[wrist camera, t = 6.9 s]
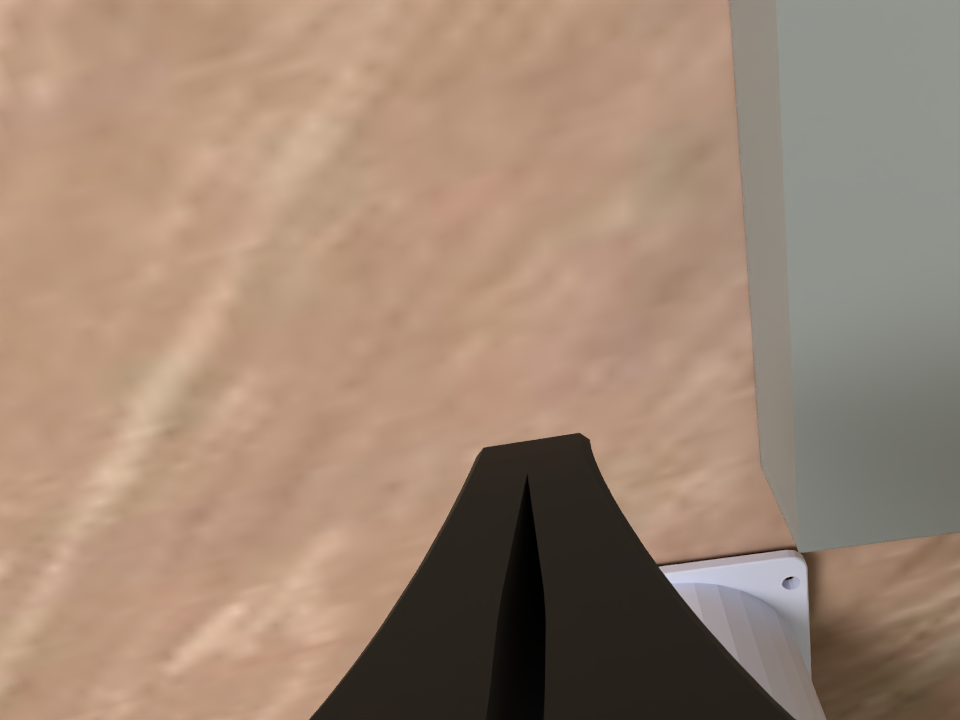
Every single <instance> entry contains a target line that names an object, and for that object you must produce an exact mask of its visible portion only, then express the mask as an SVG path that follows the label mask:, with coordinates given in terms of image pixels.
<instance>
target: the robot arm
mask: <svg viewBox="0 0 960 720" xmlns="http://www.w3.org/2000/svg"><path fill="white" fill-rule="evenodd" d="M788 577H793V578H792V579H789V580H784V579H786V578H788ZM309 720H826V717H825V714H824V712H823V709H822V707H821V704H820V701H819V699H818V696H817V694H816V691H815V688H814V686H813V683H812V677H811V650H810V623H809V596H808V568H807V564H806V562H805V560H804V557H803V555H802V554H800V553H799V552H797V551H794V550H782V551H774V552H767V553H759V554H751V555H744V556H736V557H729V558H721V559H713V560H706V561H698V562H691V563H683V564H675V565H668V566H660V567H658V565H657V564H656V563H655V561H654V560H653V558H652V557H651V556H650V554H649V553H648V551H647V550H646V549H645V547H644V546H643V544H642V543H641V541H640V540H639V538H638V536H637V535H636V533H635V532H634V530H633V529H632V527H631V526H630V524H629V523H628V521H627V519H626V518H625V516H624V515H623V513H622V512H621V510H620V508H619V507H618V505H617V503H616V501H615V500H614V498H613V496H612V494H611V492H610V490H609V489H608V487H607V485H606V483H605V481H604V479H603V477H602V475H601V473H600V471H599V468H598V466H597V464H596V461H595V459H594V456H593V453H592V449H591V445H590V440H589V439H588V438H586V437H585V436H583V435H582V434H580V433H576V434H569V435H563V436H556V437H550V438H543V439H537V440H531V441H524V442H518V443H511V444H505V445H498V446H492V447H485V448H483V449H482V451H481V452H480V453H479V454H478V456H477V457H476V459H475V462H474V464H473V466H472V468H471V470H470V473H469V475H468V477H467V479H466V481H465V483H464V485H463V487H462V489H461V491H460V493H459V495H458V497H457V499H456V501H455V503H454V505H453V507H452V509H451V511H450V513H449V515H448V517H447V519H446V520H445V522H444V524H443V526H442V528H441V529H440V531H439V533H438V535H437V537H436V538H435V540H434V542H433V544H432V545H431V547H430V549H429V551H428V552H427V554H426V556H425V558H424V559H423V561H422V563H421V565H420V566H419V568H418V570H417V571H416V573H415V575H414V576H413V578H412V579H411V581H410V582H409V584H408V586H407V587H406V589H405V590H404V592H403V593H402V595H401V596H400V598H399V599H398V601H397V603H396V604H395V606H394V607H393V609H392V610H391V612H390V613H389V615H388V616H387V618H386V620H385V621H384V623H383V624H382V626H381V627H380V629H379V630H378V631H377V633H376V634H375V636H374V637H373V638H372V640H371V641H370V643H369V644H368V645H367V647H366V648H365V650H364V651H363V652H362V654H361V655H360V656H359V658H358V659H357V661H356V662H355V663H354V665H353V666H352V667H351V668H350V670H349V671H348V672H347V674H346V675H345V676H344V677H343V679H342V680H341V681H340V683H339V684H338V685H337V686H336V688H335V689H334V690H333V692H332V693H331V694H330V695H329V697H328V698H327V699H326V700H325V702H324V703H323V704H322V705H321V706H320V707H319V709H318V710H317V711H316V712H315V713H314V714H313V716H312V717H311V718H310V719H309Z"/></svg>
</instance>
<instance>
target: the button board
mask: <svg viewBox="0 0 960 720" xmlns="http://www.w3.org/2000/svg"><path fill="white" fill-rule="evenodd" d="M729 1H730V16H731V31H732V46H733V60H734V75H735V90H736V104H737V119H738V134H739V148H740V163H741V178H742V192H743V207H744V222H745V237H746V251H747V266H748V281H749V295H750V310H751V325H752V339H753V354H754V369H755V383H756V398H757V413H758V427H759V442H760V457H761V467H762V470H763V472H764V474H765V476H766V479H767V481H768V483H769V485H770V488H771V490H772V492H773V494H774V497H775V499H776V501H777V504H778V506H779V508H780V510H781V513H782V515H783V517H784V519H785V522H786V524H787V526H788V528H789V531H790V533H791V535H792V538H793V540H794V542H795V544H796V547H797V549H798V551H799V553H804V552H812V551H819V550H827V549H835V548H842V547H850V546H858V545H865V544H873V543H881V542H888V541H896V540H904V539H911V538H919V537H927V536H934V535H942V534H950V533H957V532H960V0H729Z"/></svg>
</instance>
